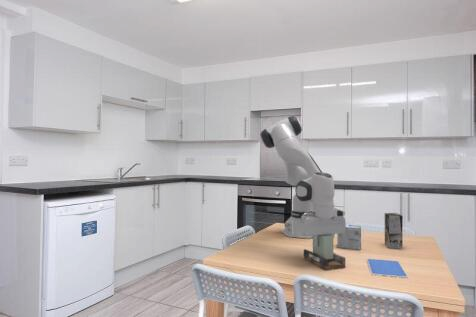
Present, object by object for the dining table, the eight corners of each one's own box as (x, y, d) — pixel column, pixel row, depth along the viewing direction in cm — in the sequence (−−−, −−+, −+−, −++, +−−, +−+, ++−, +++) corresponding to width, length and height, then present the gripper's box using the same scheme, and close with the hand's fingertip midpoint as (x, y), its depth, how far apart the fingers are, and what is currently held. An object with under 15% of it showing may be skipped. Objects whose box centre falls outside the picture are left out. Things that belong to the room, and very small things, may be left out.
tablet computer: (408, 280, 116) (408, 276, 116) (371, 276, 120) (371, 273, 120) (398, 264, 135) (398, 260, 135) (366, 261, 138) (366, 258, 138)
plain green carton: (324, 259, 129) (324, 237, 129) (312, 254, 137) (312, 232, 137) (333, 258, 131) (333, 236, 131) (322, 253, 138) (322, 232, 138)
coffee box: (403, 249, 156) (403, 215, 156) (388, 248, 157) (388, 215, 157) (397, 244, 165) (397, 212, 165) (384, 243, 166) (384, 212, 166)
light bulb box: (361, 247, 160) (361, 225, 160) (360, 250, 154) (360, 227, 154) (338, 244, 164) (338, 223, 164) (337, 247, 158) (337, 225, 158)
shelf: (303, 258, 139) (303, 249, 140) (321, 256, 143) (321, 247, 143) (325, 270, 124) (325, 260, 125) (345, 267, 128) (345, 257, 128)
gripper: (305, 214, 127) (305, 249, 127) (348, 211, 134) (348, 245, 134) (297, 211, 133) (297, 245, 133) (338, 209, 140) (338, 241, 140)
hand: (323, 245), depth 134 cm, fingers closed on plain green carton, 5 cm apart
